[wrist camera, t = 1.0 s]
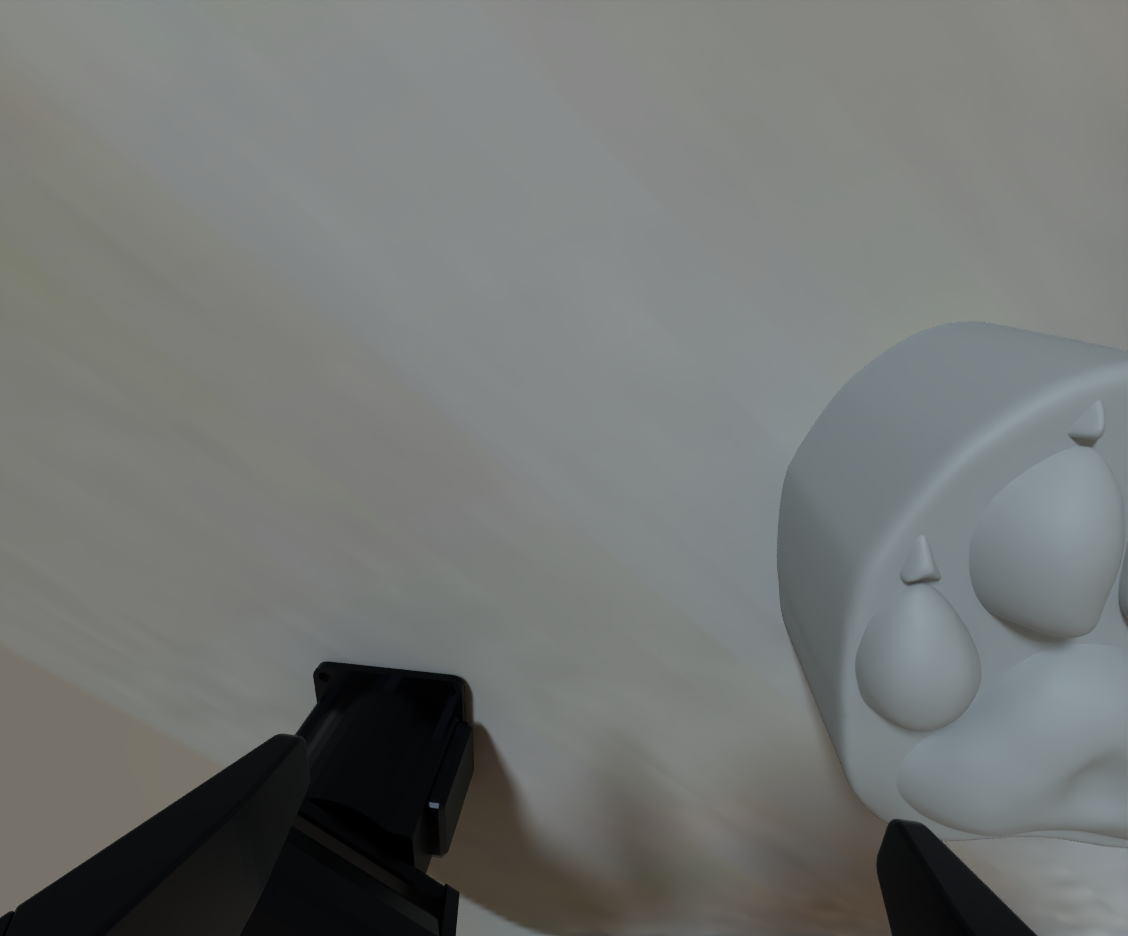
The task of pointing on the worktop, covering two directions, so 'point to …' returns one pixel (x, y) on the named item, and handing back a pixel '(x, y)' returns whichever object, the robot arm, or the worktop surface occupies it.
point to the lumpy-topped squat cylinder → (970, 582)
